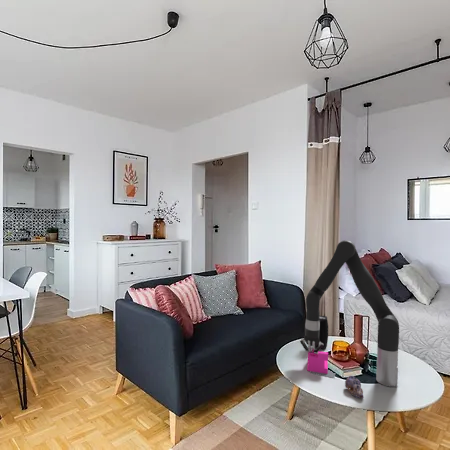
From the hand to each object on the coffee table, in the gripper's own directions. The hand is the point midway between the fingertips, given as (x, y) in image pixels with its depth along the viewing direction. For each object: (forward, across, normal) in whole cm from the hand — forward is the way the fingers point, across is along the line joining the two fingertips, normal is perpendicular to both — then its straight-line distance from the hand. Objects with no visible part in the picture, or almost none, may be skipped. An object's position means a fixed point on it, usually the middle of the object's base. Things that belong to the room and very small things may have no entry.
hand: (311, 358), depth 174 cm
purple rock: (+4, -23, +18) cm, 29 cm away
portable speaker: (+4, -1, -28) cm, 28 cm away
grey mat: (+4, -7, +1) cm, 8 cm away
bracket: (+4, -4, 0) cm, 5 cm away
